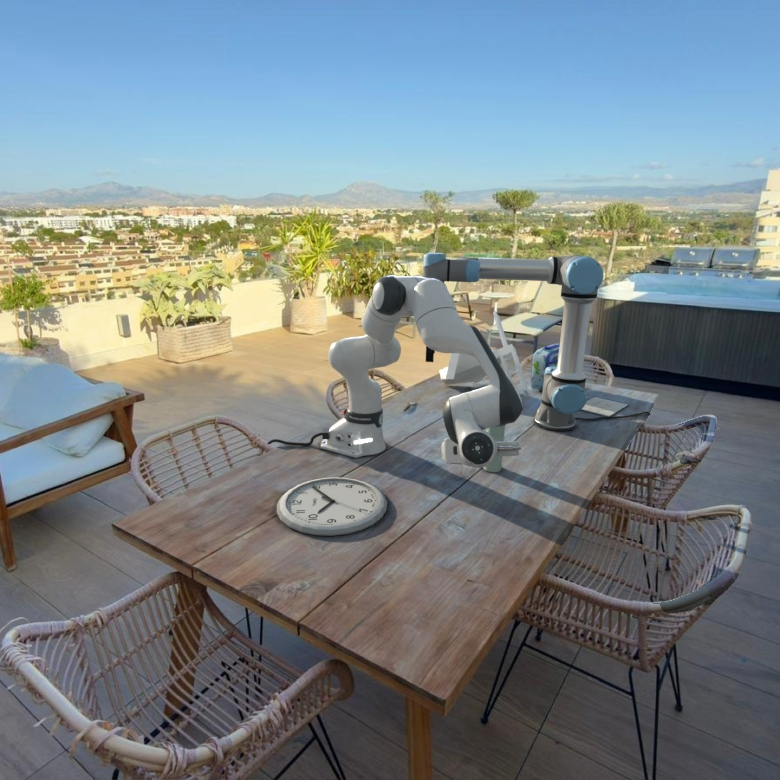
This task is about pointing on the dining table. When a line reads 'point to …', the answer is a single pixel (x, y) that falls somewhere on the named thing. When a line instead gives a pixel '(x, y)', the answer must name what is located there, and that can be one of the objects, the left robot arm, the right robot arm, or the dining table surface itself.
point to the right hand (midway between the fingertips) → (430, 357)
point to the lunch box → (543, 364)
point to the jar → (499, 437)
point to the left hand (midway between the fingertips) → (479, 450)
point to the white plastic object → (470, 369)
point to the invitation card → (603, 406)
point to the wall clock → (331, 506)
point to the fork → (411, 403)
